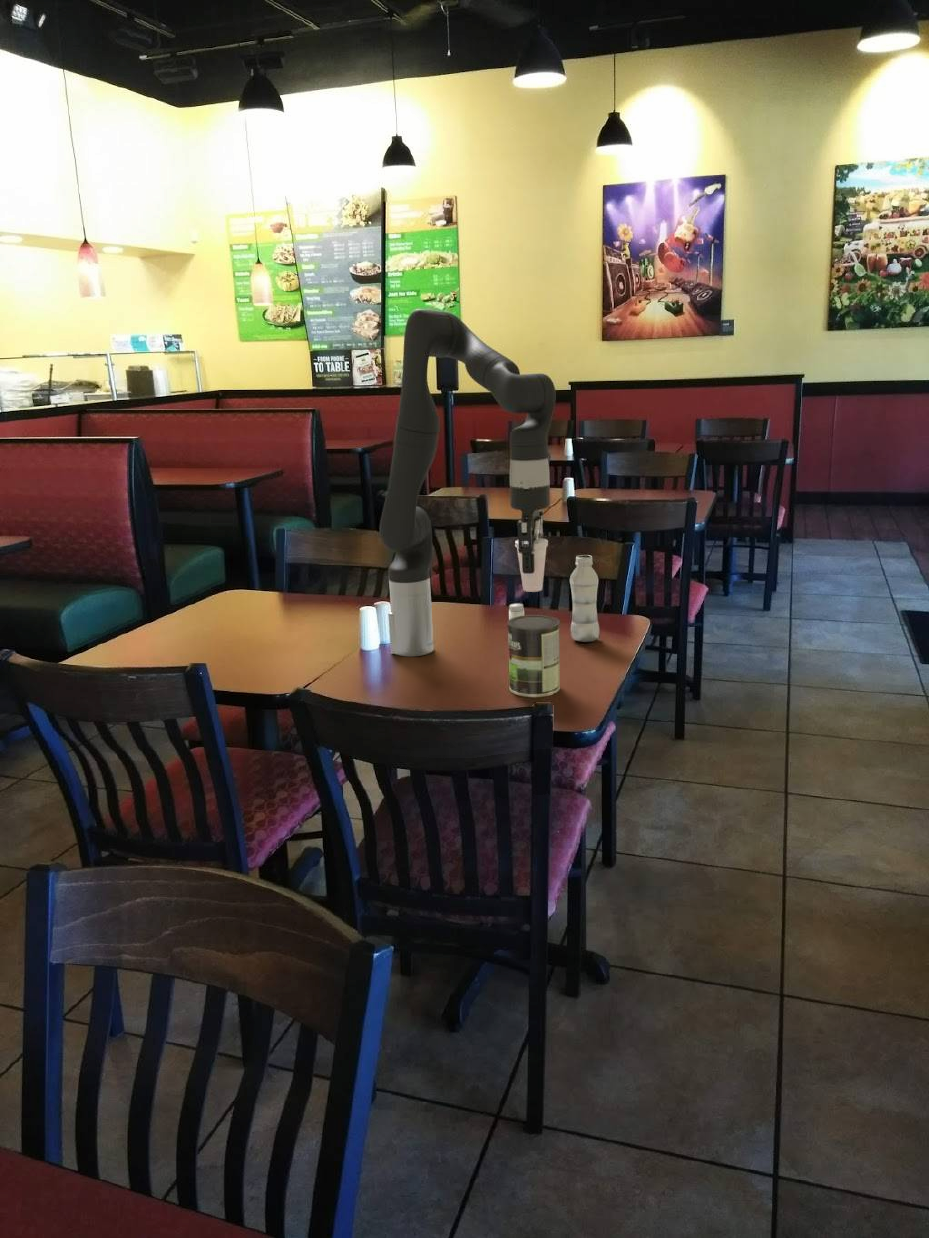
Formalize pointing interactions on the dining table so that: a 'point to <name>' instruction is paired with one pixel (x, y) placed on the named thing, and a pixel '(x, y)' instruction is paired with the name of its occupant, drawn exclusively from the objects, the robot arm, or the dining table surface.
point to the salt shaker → (516, 610)
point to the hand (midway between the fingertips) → (531, 568)
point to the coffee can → (533, 655)
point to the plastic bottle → (584, 600)
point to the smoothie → (536, 578)
